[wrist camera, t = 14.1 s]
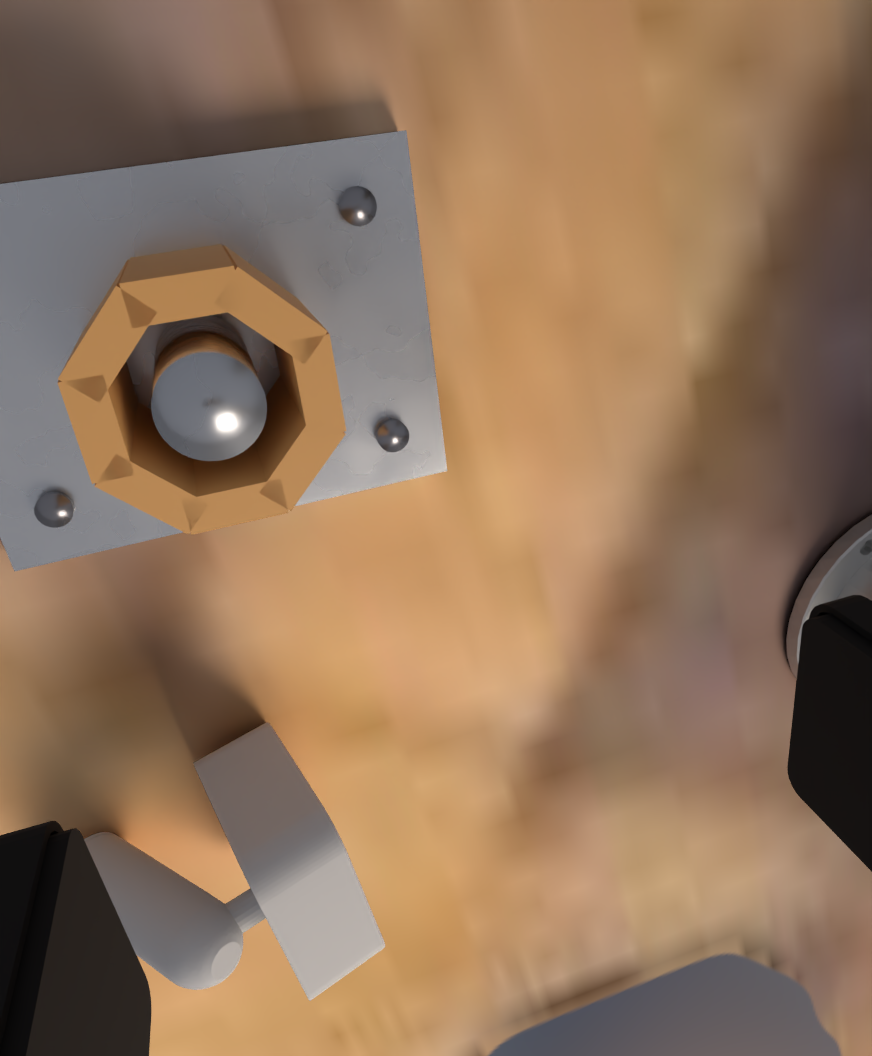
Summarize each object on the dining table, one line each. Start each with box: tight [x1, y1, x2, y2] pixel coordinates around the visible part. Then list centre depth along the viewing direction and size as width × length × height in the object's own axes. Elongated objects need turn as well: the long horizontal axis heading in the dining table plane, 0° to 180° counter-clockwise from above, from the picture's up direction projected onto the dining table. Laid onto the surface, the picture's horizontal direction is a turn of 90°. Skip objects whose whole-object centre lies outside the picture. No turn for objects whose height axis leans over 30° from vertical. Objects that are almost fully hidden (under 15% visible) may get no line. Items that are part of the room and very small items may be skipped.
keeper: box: [0, 131, 447, 571], centre depth 24 cm, size 16×12×7 cm
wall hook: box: [84, 722, 385, 1001], centre depth 31 cm, size 8×10×10 cm
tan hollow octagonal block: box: [57, 244, 346, 535], centre depth 24 cm, size 7×7×6 cm
